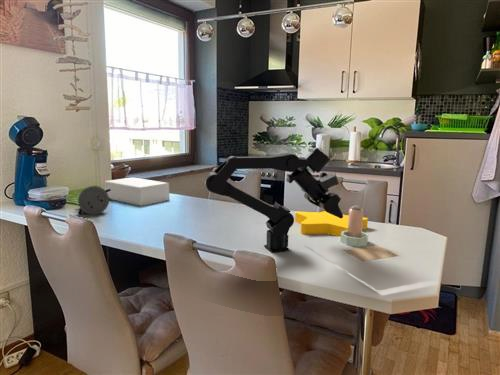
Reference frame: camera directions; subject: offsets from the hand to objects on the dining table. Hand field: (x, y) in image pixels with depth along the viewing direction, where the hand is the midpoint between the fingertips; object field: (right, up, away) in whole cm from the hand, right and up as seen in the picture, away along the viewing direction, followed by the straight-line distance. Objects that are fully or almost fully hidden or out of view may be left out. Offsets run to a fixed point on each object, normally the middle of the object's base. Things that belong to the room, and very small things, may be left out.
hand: (336, 214), depth 124 cm
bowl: (+7, -11, +3) cm, 14 cm away
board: (+9, -13, -7) cm, 18 cm away
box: (-91, +2, +72) cm, 116 cm away
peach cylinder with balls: (+7, -10, +3) cm, 13 cm away
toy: (-101, -2, +42) cm, 110 cm away
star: (+3, -8, +23) cm, 25 cm away
